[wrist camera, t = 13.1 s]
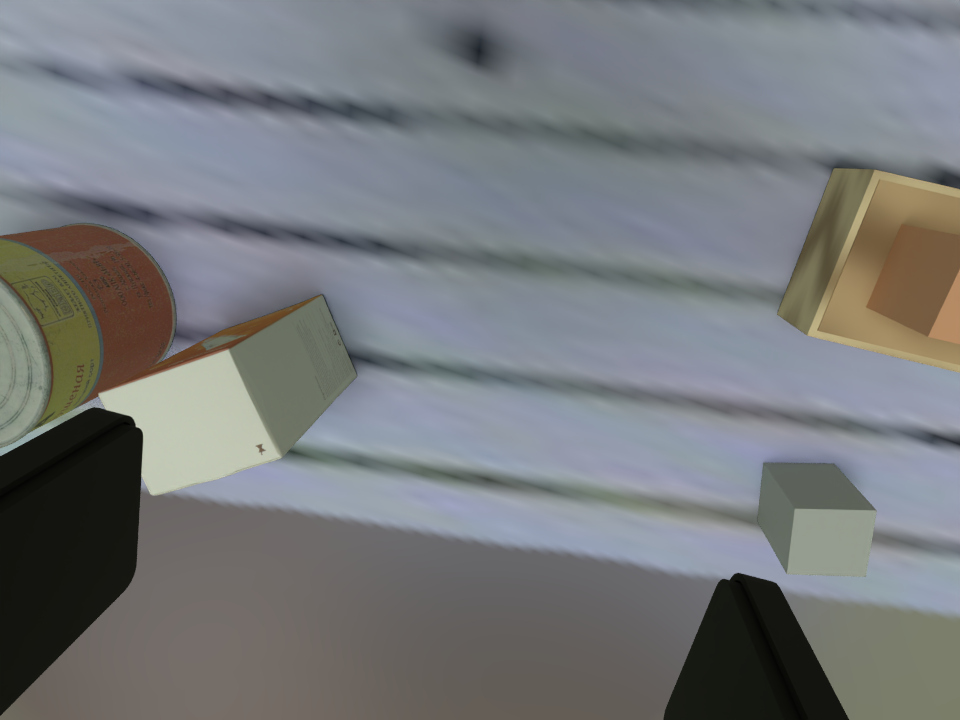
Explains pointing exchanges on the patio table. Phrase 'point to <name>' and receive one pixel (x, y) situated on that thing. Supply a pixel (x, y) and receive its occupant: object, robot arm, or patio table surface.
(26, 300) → the canned food
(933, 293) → the terracotta block
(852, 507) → the slate block
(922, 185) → the tan square tray
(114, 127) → the patio table surface
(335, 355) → the small box
